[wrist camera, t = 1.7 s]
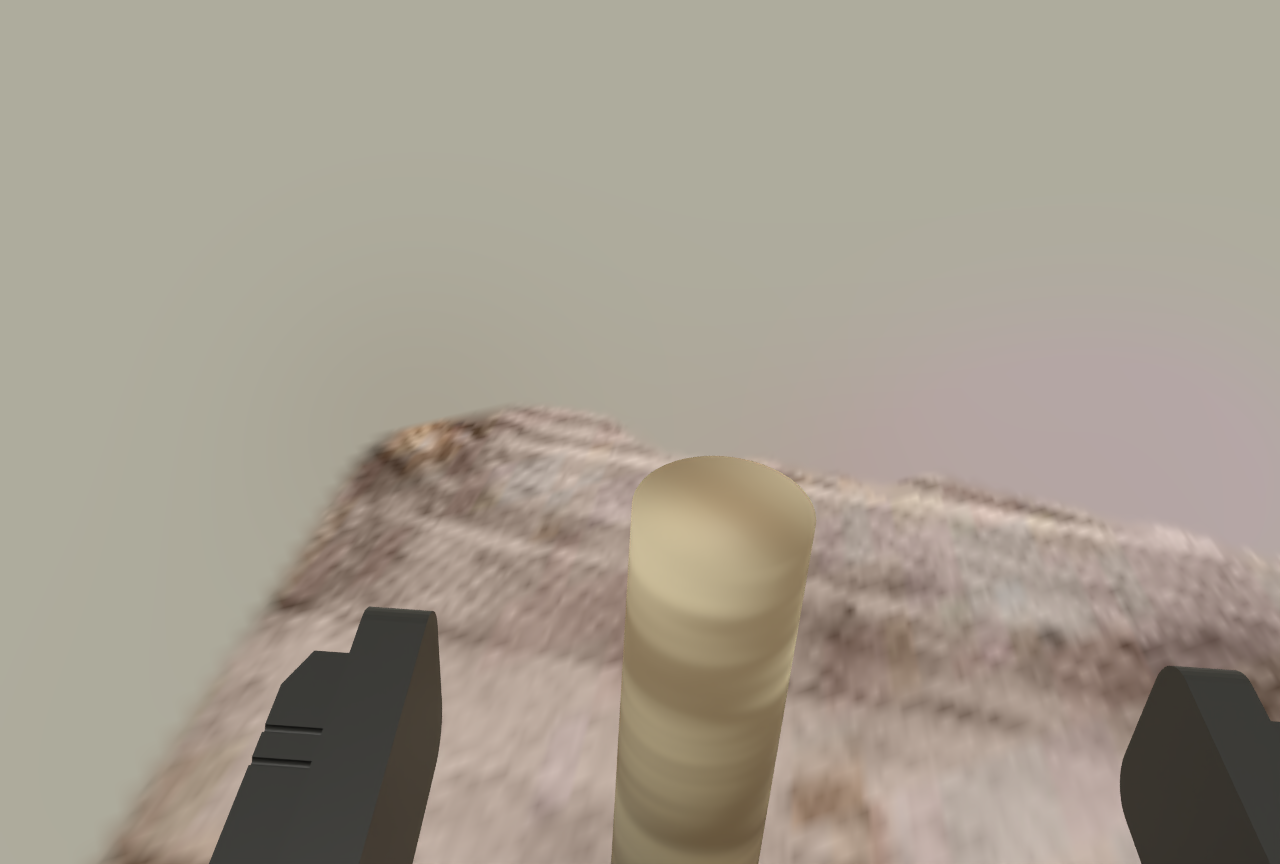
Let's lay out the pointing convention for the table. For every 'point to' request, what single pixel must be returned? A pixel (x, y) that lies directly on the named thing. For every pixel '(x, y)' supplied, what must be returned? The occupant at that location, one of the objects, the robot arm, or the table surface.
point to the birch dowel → (707, 657)
